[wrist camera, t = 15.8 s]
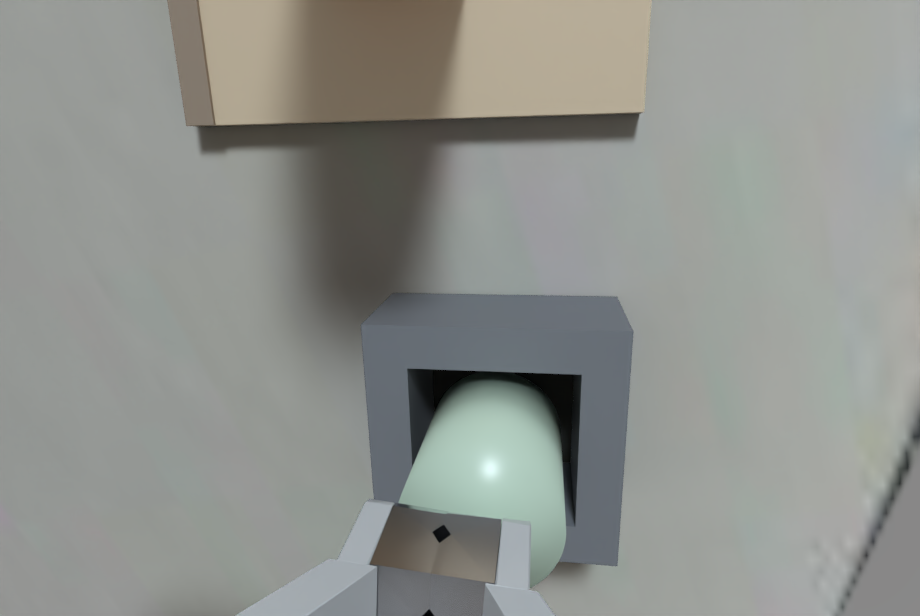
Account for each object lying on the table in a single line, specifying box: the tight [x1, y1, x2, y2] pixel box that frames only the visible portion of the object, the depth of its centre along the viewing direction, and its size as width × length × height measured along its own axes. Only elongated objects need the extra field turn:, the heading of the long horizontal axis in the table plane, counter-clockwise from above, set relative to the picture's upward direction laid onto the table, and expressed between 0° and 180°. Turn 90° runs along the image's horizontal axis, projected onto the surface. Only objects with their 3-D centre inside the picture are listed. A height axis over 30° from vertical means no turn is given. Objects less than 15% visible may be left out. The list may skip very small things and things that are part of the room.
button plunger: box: [399, 371, 566, 588], centre depth 13 cm, size 3×3×4 cm
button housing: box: [361, 293, 633, 566], centre depth 15 cm, size 6×6×3 cm
